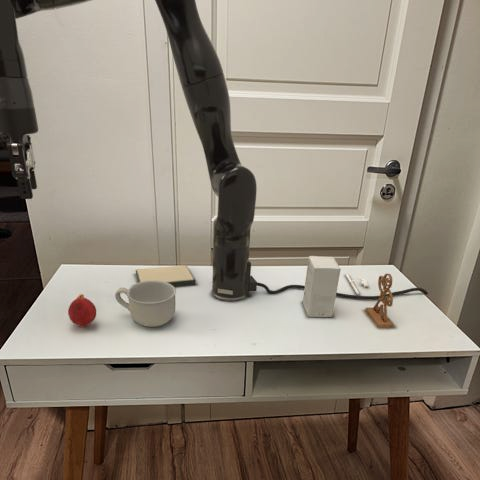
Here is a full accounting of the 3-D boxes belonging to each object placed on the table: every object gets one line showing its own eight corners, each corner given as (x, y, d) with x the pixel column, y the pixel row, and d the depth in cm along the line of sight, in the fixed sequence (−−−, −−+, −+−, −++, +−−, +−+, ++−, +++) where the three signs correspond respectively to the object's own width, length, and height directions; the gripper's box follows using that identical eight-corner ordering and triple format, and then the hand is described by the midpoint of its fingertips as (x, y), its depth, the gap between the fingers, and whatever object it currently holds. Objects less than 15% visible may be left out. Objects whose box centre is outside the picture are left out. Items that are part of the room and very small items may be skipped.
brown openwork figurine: (393, 327, 103) (405, 281, 97) (378, 328, 102) (389, 282, 97) (378, 310, 111) (388, 266, 105) (364, 310, 110) (373, 267, 104)
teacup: (184, 315, 104) (183, 284, 100) (163, 336, 95) (161, 304, 91) (133, 304, 107) (131, 274, 103) (108, 324, 98) (104, 292, 94)
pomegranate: (89, 335, 94) (85, 302, 90) (65, 331, 95) (60, 298, 91) (102, 322, 99) (98, 291, 95) (79, 319, 100) (74, 287, 96)
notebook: (187, 270, 128) (187, 264, 127) (195, 285, 119) (195, 279, 118) (135, 274, 124) (135, 268, 123) (140, 290, 115) (140, 284, 114)
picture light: (345, 275, 130) (346, 268, 129) (359, 275, 130) (360, 269, 129) (356, 295, 118) (358, 288, 117) (372, 296, 118) (374, 289, 117)
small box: (332, 317, 106) (341, 268, 100) (307, 317, 106) (314, 267, 99) (325, 302, 113) (333, 256, 107) (302, 302, 113) (308, 255, 106)
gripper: (30, 108, 75) (46, 201, 83) (37, 103, 87) (51, 185, 95) (-18, 107, 73) (3, 203, 81) (-4, 102, 85) (14, 186, 93)
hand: (29, 193), depth 88 cm, fingers open, 8 cm apart
